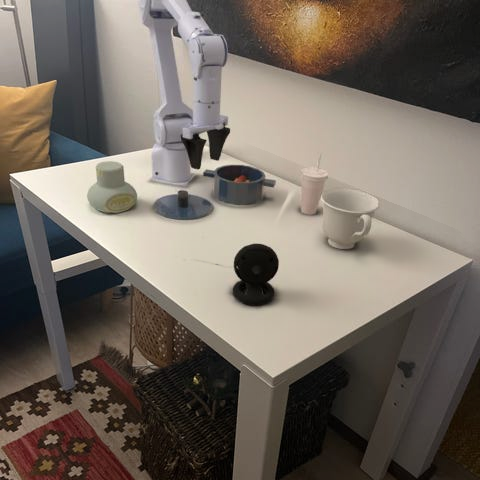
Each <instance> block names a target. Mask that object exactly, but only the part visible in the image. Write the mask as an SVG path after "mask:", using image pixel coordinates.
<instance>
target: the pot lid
mask: <svg viewBox="0 0 480 480" xmlns="http://www.w3.org/2000/svg"><path fill="white" fill-rule="evenodd" d="M212 209H213V206H212V203H211V202H210V201H209V200H208V199H206V198H205V197H202V196H199V195H196V194H195V195H194V194H189V192H188V191H187V190H184V189H180V190H178V191H177V193H174V194H168V195H164V196H161V197H159V198H157V199H156V200H155V201H154V203H153V210H154V211H155V212H156V213H157V214H158V215H160V216H162V217H164V218H167V219H172V220H178V221H180V220H181V221H187V220H188V221H189V220H197V219H200V218H201V219H202V218H204V217H206V216H208V215H209V214H210V213H211V211H212Z"/></svg>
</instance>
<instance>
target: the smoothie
mask: <svg viewBox="0 0 480 480" xmlns="http://www.w3.org/2000/svg"><path fill="white" fill-rule="evenodd" d="M321 156H322V153H321V152H318V155H317V162H316V166H315V167H311V166H309V167H304V168H302V169H301V170H300V173H299V176H300V177H301V179H300V188H301V189H300V212H301V213H302V214H304V215H315V214H317V211H318V207H319V204H320V201H321V195H322V194H323V191H324V188H325V183H326V181H327V180H328V178H329V177H328V176H329V173H328V171H326V169H322V168H320V163H321V158H322V157H321Z"/></svg>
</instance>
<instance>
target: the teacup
mask: <svg viewBox="0 0 480 480" xmlns="http://www.w3.org/2000/svg"><path fill="white" fill-rule="evenodd" d="M320 201H321V202H322V203H323V204H322V209H323V211H322V230H323V234H324V235H325V236H326V237H327V238H328V239H327V243H328V244H329V245H330V246H331V247H333V248H336V249H339V250H351V249H353V248H354V247H355V245H356V243H358V242H360V241H361V240H362V239H363V238H365V236H367V235H369V233H370V231H371V228H372V218H373V216H374V214H375V212H376V211H377V210H378V209H380V207H381V206H380V205H381V204H380V201H379V200H378V199H377V198H376V197H375V196H373V195H372V194H370V193H367V192H366V191H365V192H364V191H362V190H357V189H353V188H331V189H327V190H326V191H324V192H322V194H321V197H320Z"/></svg>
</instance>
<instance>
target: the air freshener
mask: <svg viewBox="0 0 480 480" xmlns="http://www.w3.org/2000/svg"><path fill="white" fill-rule="evenodd" d="M124 168H125V167H124V165H123V164H122V163H121V162H119V161H112V160H111V161H109V160H108V161H107V160H106V161H101V162H98V163H97V164H96V166H95V171H96V172H95V173H96V182H94V183H93V184H92V185H91V186H90V187H89V188H88V190H87V193H86V198H87V201H88V203H89V205H90V206H91V207H92V208H94V209H95V210H97V211H99V212H102V213H107V214H118V213H123V212H126V211H128V210H129V209H131V208H132V207H133V206H134V205H135V204H136V202H137V199H138V193H137V191H136V189H135V187H134V186H133V185H131V184H130V183H129V182H127V181H125V179H126V178H125V169H124Z"/></svg>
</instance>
